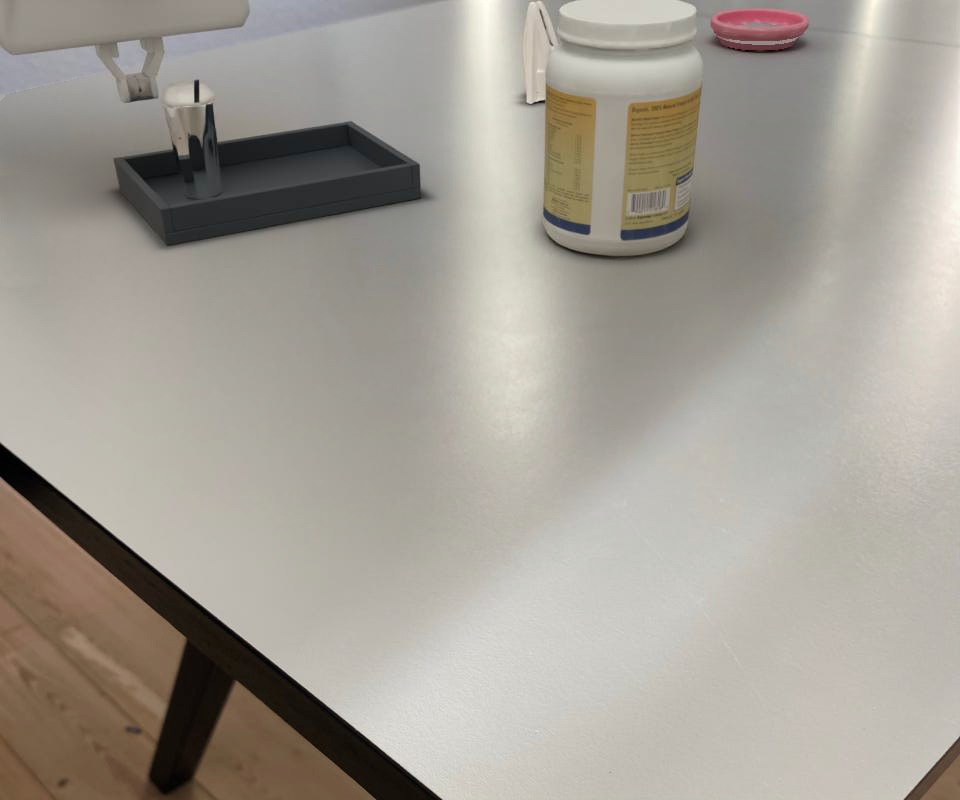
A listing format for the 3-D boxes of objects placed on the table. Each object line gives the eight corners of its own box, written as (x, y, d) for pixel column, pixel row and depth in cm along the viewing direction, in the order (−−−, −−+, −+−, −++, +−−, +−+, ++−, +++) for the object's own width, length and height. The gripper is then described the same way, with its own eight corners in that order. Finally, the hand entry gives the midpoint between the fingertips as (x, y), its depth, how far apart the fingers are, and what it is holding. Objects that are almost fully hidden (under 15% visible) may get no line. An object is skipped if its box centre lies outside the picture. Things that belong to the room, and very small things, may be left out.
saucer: (689, 44, 147) (691, 17, 145) (746, 29, 153) (750, 2, 151) (767, 60, 140) (771, 32, 138) (824, 43, 146) (829, 16, 144)
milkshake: (191, 208, 97) (169, 83, 91) (169, 191, 101) (147, 69, 95) (240, 198, 99) (222, 75, 93) (217, 181, 103) (198, 62, 96)
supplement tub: (692, 214, 98) (716, -6, 87) (679, 266, 89) (705, 28, 78) (554, 205, 100) (561, -12, 89) (528, 255, 91) (532, 21, 80)
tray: (167, 245, 93) (160, 209, 92) (120, 191, 104) (113, 158, 102) (421, 198, 102) (419, 164, 100) (353, 152, 112) (351, 120, 111)
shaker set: (612, 85, 131) (619, -23, 124) (627, 94, 128) (635, -16, 121) (516, 95, 128) (517, -15, 121) (528, 104, 125) (530, -8, 118)
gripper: (220, -113, 90) (246, 74, 99) (-45, -92, 83) (8, 107, 92) (246, -105, 86) (270, 90, 95) (-32, -82, 79) (23, 127, 88)
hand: (139, 99), depth 93 cm, fingers closed
